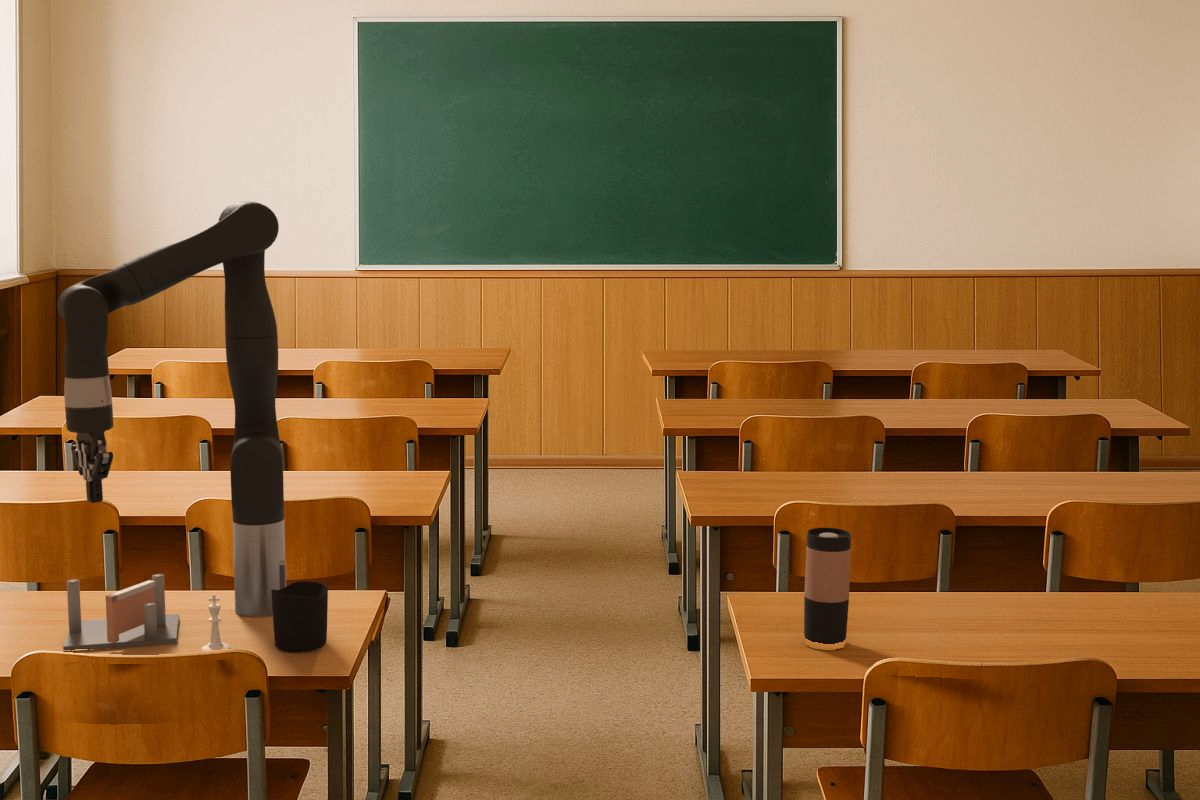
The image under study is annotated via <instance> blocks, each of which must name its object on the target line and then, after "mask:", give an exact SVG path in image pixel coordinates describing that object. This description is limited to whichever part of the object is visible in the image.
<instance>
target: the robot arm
mask: <svg viewBox="0 0 1200 800" xmlns="http://www.w3.org/2000/svg"><path fill="white" fill-rule="evenodd" d="M279 226H280V225H279V220H278V218H277V216H276V214H275V212H274V211H273V210H272V209H271V208H270V207H268V206H266V205H265V204H263V203H260V202H256V201H236V202H233V203H231V204H229V205H228V206H226V207H225V208H224V209H223V211H221V213H220V215H219V218H218V221H217V222H215V224H213V225H211V226H209V227H208V228H206V229H204V230H202V231H200V232H198V233H195V234H194V235H191V236H189V237H186V238H185V239H181V240H179V241H175V242H173V243H169V244H167V245H164V246H160V247H158V248H155V249H154V250H153V249H152V250H151V251H147V252H146V253H144V254H141V255H139V256H137V257H134V258H132V259H130V260H128V261H127V262H124V263H122V264H120V265H118V266H116V267H115V268H113V269H111V270H109V271H107V272H104V273H101V274H98V275H95V276H93V277H91V278H87V279H86V280H81V281H79V282H78V283H75V284H73V285H71V286H69V287H67V288H66V289H65V290H63V291H62V292H61V294H60V295H59V298H58V301H57V310H58V313H59V315H60V316H61V318H62V319H63V321H64V332H65V333H64V334H65V346H64V348H63V368H64V369H63V371H64V386H63V387H64V389H63V395H64V411H65V427H66V430H67V431H68V432H70V433H75V434H76V439H75V440H76V441H75V444H72V445H71V446H70V451H71V454H72V456H73V458H74V462H75V464H76V468H77V470H78V474H79V476H82V478H83V480H84V481H85V489H86V501H87V502H89V503H91V504H96V503H101V502H103V501H104V494H103V481H104V479H107V478H108V476H109V474H110V469H111V466H112V463H113V459H114V454H113V451H108V442H107V440H106V439H107V438H106V435H105V432H106V431H110V430H112V428H114V410H113V399H112V398H113V396H112V394H113V393H112V387H111V386H112V384H111V381H110V371H109V359H108V358H109V357H108V350H107V348H108V347H107V341H108V327H109V314H110V313H113V312H115V311H116V310H119V309H121V308H123V307H128V306H133V305H135V304H136V305H137V304H139V303H141V302H143V301H146V300H148V299H150V298H152V297H154V296H156V295H158V294H160V293H162V292H164V291H166V290H168V289H170V288H171V287H173V286H174V287H175V285H177V284H180V283H181V282H183V281H186V280H187V279H190V278H191V277H193V276H195V275H198V274H200V273H202V272H204V271H206V270H208V269H210V268H213V267H216V266H218V265H221V264H222V265H223V276H224V337H225V358H226V367H227V373H228V379H229V384H230V388H231V393H232V396H233V403H234V433H233V434H234V435H233V445H232V449H231V450H232V451H231V455H230V461H229V462H230V464H229V465H230V471H229V473H230V492H231V493H230V496H231V500H230V501H231V510H232V511H231V513H232V536H233V538H232V539H233V570H234V571H233V575H234V577H233V579H234V582H233V583H234V608H235V609H234V610H235V613H236V614H238V615H241V616H245V617H267V616H273V611H272V595H271V590H272V589H275V590H280V589H283V588H284V587H286V586H287V562H286V545H285V544H286V539H285V495H284V493H285V491H284V487H285V486H284V453H283V448H282V444H281V440H280V433H279V428H278V420H277V419H278V418H277V410H276V409H277V408H276V396H277V386H278V375H279V340H278V326H277V320H276V316H275V311H274V308H273V304H272V301H271V298H270V295H269V292H268V288H267V282H266V276H265V274H266V273H265V272H266V271H265V258H266V257H265V255H266V254H265V253H266V250H268V249H269V248H270V247H271V246H272V245H273V244H274V242H275V241H276V240H277V237H278V234H279V231H280V230H279V229H280V227H279Z"/></svg>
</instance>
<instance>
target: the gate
mask: <svg viewBox="0 0 1200 800" xmlns="http://www.w3.org/2000/svg"><path fill="white" fill-rule="evenodd" d="M154 587H156V585H155V581H152V579H149V580H146V581H143V582H140V583H137V584H134V585H132V586H129V587H126V588H124V589H120V590H118V591H116V592H112V593H109V594H107V595H105V611H106V612H105V613H106V614H105V615H106V616H105V617H106V618H105V619H107V641H108V642H111V643H115V642H118V641H119V634H121V633H124V632H126V631H129V630H131V629H134V628H136V627H138V626H141V625H143V624H144V608H143V605H144V604H146V603H155V594H154Z"/></svg>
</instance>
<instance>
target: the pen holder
mask: <svg viewBox="0 0 1200 800" xmlns="http://www.w3.org/2000/svg"><path fill="white" fill-rule="evenodd" d="M271 595H272V611H273V615H272V623H273V624H272V625H273V637H274V638H273V639H274V646H275V647H276V648H277V650H278V651H281V652H284V653H291V654H301V653H309V652H314V651H317V650H320V649H322V648H323V647H325V645H326V644H327V639H328V637H327V636H328V611H329V610H328V607H329V606H328V603H329V602H328V601H329V599H328V598H329V588H328V585H326V584H325V583H322V582H319V581H313V580H311V581H309V580H301V581H295V582H292V583H289V584H287V585H286V587H284V588H283V589H280V590H275V589H272V590H271Z"/></svg>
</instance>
